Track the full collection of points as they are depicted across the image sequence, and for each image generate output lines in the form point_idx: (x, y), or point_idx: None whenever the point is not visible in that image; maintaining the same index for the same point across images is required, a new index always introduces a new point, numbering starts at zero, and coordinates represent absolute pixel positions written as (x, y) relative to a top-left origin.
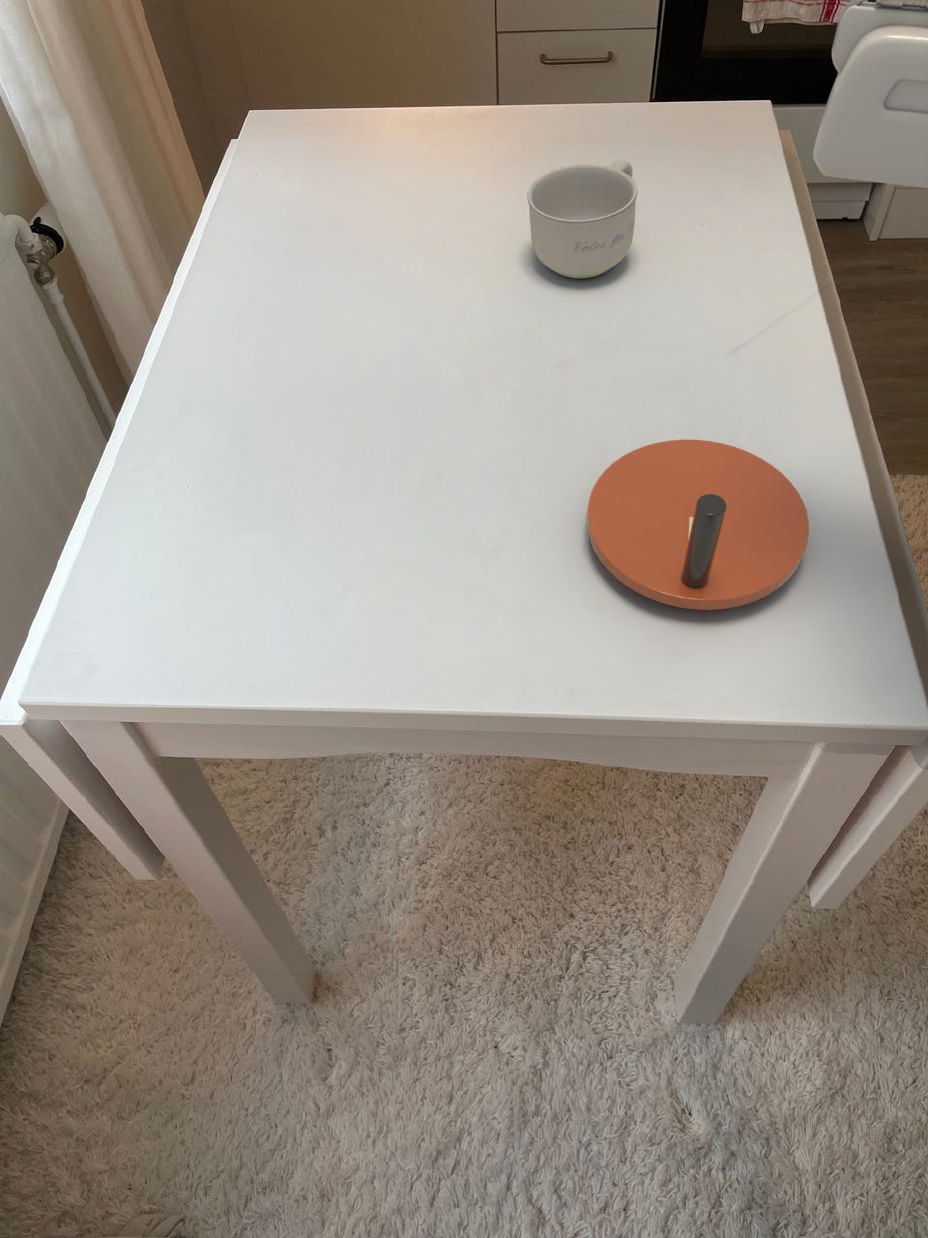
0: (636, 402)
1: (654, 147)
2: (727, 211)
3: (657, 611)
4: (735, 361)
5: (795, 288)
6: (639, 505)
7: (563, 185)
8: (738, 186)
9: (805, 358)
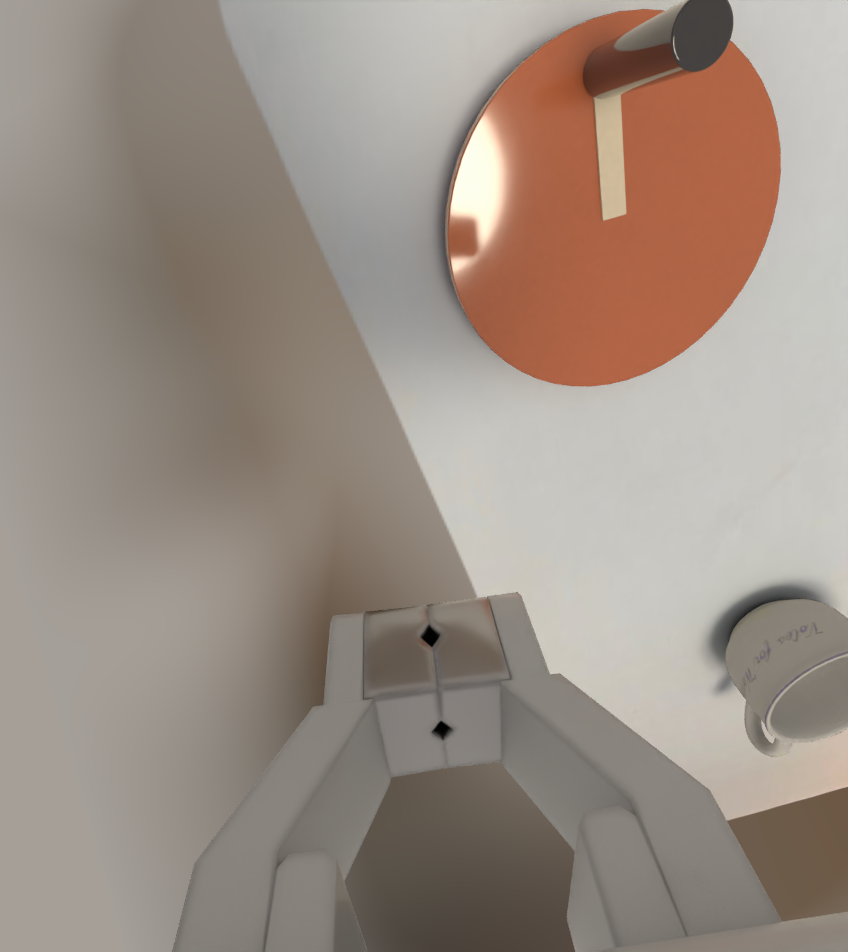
0: (688, 442)
1: None
2: None
3: None
4: (575, 547)
5: None
6: (700, 211)
7: (835, 705)
8: None
9: (497, 579)
